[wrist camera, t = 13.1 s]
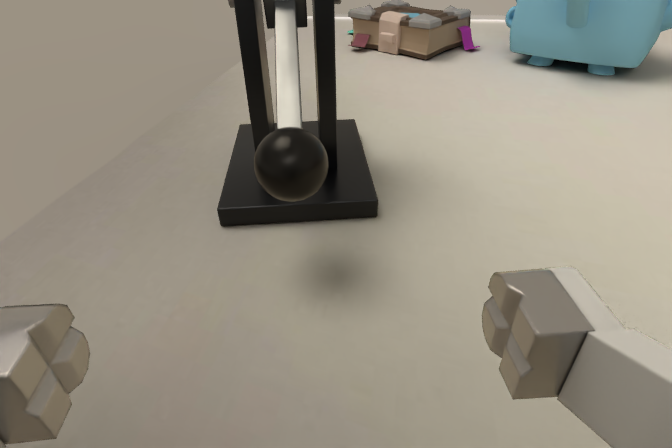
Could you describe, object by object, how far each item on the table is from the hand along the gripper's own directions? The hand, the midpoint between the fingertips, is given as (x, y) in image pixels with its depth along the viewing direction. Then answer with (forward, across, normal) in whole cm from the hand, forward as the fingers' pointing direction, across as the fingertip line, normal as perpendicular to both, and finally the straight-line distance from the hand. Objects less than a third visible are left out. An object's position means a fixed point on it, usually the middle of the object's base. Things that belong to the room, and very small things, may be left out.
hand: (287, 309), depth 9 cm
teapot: (+42, -33, +8) cm, 55 cm away
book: (+54, -13, +8) cm, 56 cm away
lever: (+16, 0, +1) cm, 16 cm away
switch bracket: (+20, 0, +8) cm, 22 cm away
